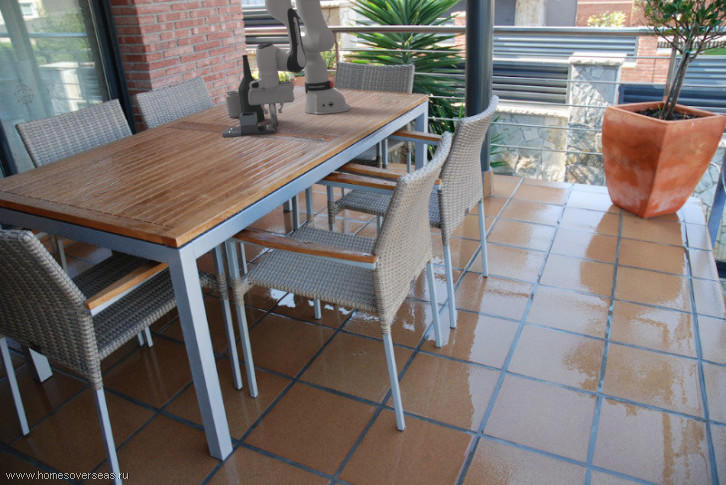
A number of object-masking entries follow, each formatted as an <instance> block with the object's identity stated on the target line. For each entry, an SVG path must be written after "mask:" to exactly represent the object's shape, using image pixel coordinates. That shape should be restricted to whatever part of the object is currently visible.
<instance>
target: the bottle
mask: <svg viewBox="0 0 726 485" xmlns="http://www.w3.org/2000/svg"><path fill="white" fill-rule="evenodd" d="M241 57H242V72H243V73H242V76H243V77H242V78H241V81H240V83H239V85H238V89H237V91H239V98H240V105H241V112H242V113H249V112H256V114H257V121H258V123H261V122H263V121H264V120H265V114H264V110H263V109H262V107H261V104H260V105H250V104H249V100H248V92H249V90H250V87H249V84H250V82H252V81H254V80H256V79H255V78H254V77H253V75H252V71H251V67H250V63H249V59H248V54H243V55H242V56H241Z"/></svg>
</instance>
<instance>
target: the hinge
mask: <svg viewBox="0 0 726 485" xmlns="http://www.w3.org/2000/svg"><path fill="white" fill-rule="evenodd" d="M238 118H239V123H240V124H239V126H238V127H237V126H235V127H226V128H225V129H223V132H222V135H221V136H222V138H229V137H230V138H231V137H242V136H243V135H257V136H259V135H270V134H271V135H272V134H276V133H277V129H278V126H277V124H275V125H271V124H263V125H259V122H258V121H257V114H256V112H249V113H241V114H240V116H239V117H238Z"/></svg>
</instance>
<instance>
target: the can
mask: <svg viewBox="0 0 726 485" xmlns="http://www.w3.org/2000/svg"><path fill="white" fill-rule="evenodd" d="M224 97H225V102H226V109H227V115H228V117H230V118H232V119H236V118H237V119H238V118H239V116H240V114H241V113H242V112H241V105H240V98H239V91H238V90H232V91H227V92H226V94H225V96H224Z"/></svg>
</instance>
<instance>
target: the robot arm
mask: <svg viewBox="0 0 726 485" xmlns="http://www.w3.org/2000/svg"><path fill="white" fill-rule="evenodd" d="M264 6H265V10H266V12H267V13H268V14H269V15H270V17H271V18H273V19H275V20H276V21H277V20H278V21H279V22H280V23H282V24H283V25H284V26H285V27H286V30H287V31H286V32H287V37H288V43H289V48H280V47H277V46H275V44H274V43H273V42H270V41H269V42H262V43H259V44H258V45H257V46H256V48H255V61H256V66H257V70H258V74H257V76H258V78H257V79H255V80H254V81H252V82H250V84H249V87H250V90H249V92H248V100H249V104H250V105H260V104H261V107H262V109H263V110H264V115H268V114H269V108H268V109H266V108H265V105H269V104H279V105H280V107H279V108H278V109H277V110H278V111H277V112H278V113H277V114H282V113H283V110H282V109H283V106H284V104H287V103H293V102H294V101H295V94H294V89H295V86H294V83H293V82H292V81H290V80H285V81H284V80H282V81H281V80H280V76H279V72H287V73H288V72H289V73H295V74H299V73H301V72H302V71H304V72H303V73H304V80H305V82H304V93H305V96H306V97H305V98H306V99H305V108H304V112H305V113H307V114H312V115H313V114H314V115H325V114H326V115H327V114H334V113H344V112H349V111H351V105H350V104H348V103H347V102H346V99H345V96H344V95H343V94H342V93H340V92H339V91H338V90H336V89H335V88H333V87H334V82H333V81H332V80H330V79H329V77H328V76H329V75H328V73H329V72H328V65H327V62H326V60H324V58H323V56H322V53H324V52H329V51H331V49H333V47H334V45H335V40H336V38H335V34H334V33H333V31H332V30H331V29H330V27H328V24H327V22H326V20H325V18H324V17H325V16H323V10H322V7H321V6H322V5H321V0H295V6H296V10H295V9H294V7H293V4H292V0H264ZM299 18H300V19H301V22H303V24H304V26H301V27H300V20H299Z"/></svg>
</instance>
